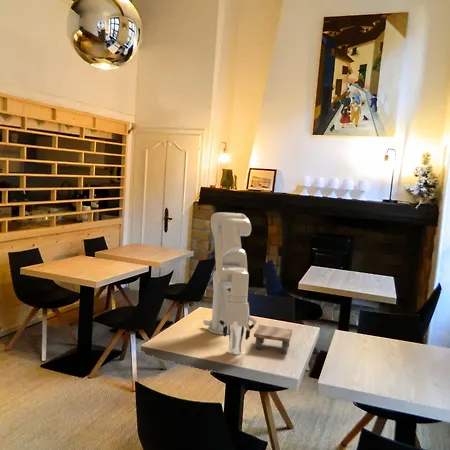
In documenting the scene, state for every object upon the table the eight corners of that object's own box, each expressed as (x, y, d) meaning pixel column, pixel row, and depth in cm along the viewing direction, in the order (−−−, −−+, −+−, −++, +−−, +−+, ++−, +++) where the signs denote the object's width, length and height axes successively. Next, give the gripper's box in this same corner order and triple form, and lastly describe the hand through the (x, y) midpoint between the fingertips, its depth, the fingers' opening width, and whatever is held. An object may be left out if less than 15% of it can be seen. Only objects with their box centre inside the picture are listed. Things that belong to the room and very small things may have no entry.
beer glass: (234, 356, 189) (236, 322, 188) (223, 351, 194) (225, 318, 193) (245, 353, 194) (248, 320, 192) (235, 348, 199) (237, 315, 198)
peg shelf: (252, 349, 198) (253, 333, 198) (257, 339, 212) (259, 324, 211) (288, 355, 194) (289, 339, 194) (291, 344, 208) (292, 329, 207)
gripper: (217, 298, 190) (214, 337, 191) (256, 303, 186) (253, 342, 187) (221, 294, 197) (219, 332, 199) (259, 299, 193) (256, 337, 195)
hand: (236, 337), depth 193 cm, fingers open, 9 cm apart
